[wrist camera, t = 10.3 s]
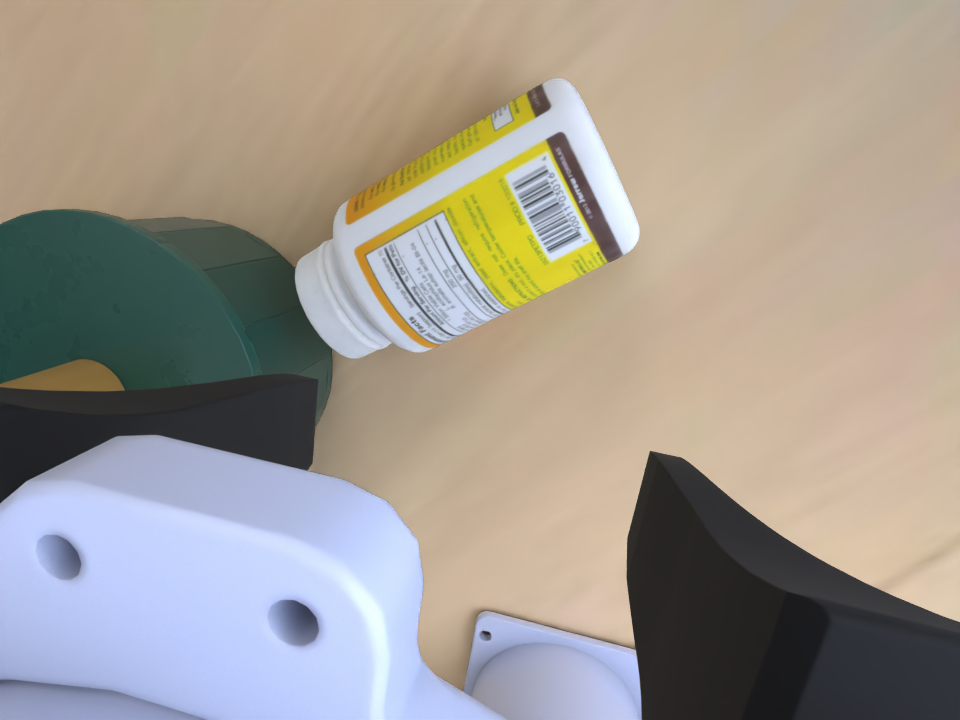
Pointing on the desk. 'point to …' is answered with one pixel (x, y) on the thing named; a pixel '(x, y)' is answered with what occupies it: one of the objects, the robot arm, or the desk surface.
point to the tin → (255, 295)
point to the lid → (110, 309)
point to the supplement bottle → (470, 229)
